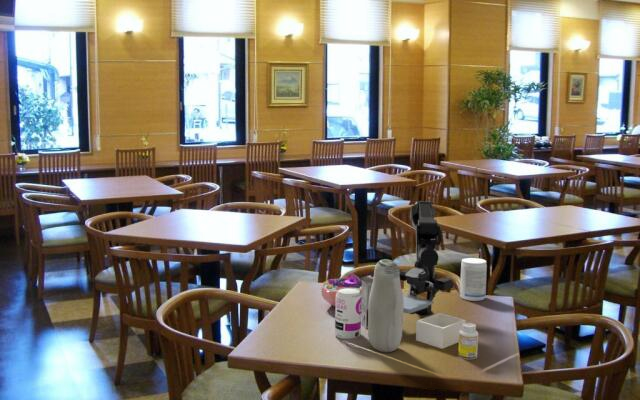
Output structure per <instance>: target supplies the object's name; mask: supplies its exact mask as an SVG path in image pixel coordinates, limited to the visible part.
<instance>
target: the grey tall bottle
mask: <svg viewBox="0 0 640 400" xmlns="http://www.w3.org/2000/svg"><path fill="white" fill-rule="evenodd" d="M399 273H400V267H399V265H398V264H397V263H396V261H394V260H391V259H386V258H384V259H380V260H379V261H377V262H376V264H375V266H374V272H373V277H374V278H373V284H372V287H371V291H370V295H369V305H368V329H367V335H368V341H369V342H370V345H371V347H372V348H373V349H374V350H376V351H378V352H381V353H392V352H393V351H396V350H397V349H398V348H399V346H400V344H401V341H402V337H403V325H404V324H403V323H404V312H403V308H404V300H403V296H404V295H403V294H404V293H403V290H402V286H401V285H402V284H401V280H400V276H399Z"/></svg>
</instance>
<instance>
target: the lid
mask: <svg viewBox="0 0 640 400" xmlns="http://www.w3.org/2000/svg"><path fill="white" fill-rule="evenodd" d="M403 300H404V308H403V314H407V315H409V314H412V313H413V312H416V311H418V310H421V309H424V308H427V307H428V305H431V304H432V305H433V304H434V301H433V300H432V301H430V300H427V292H424V293H421V294H418V295H417V297H415V296H412V295H409V293H408V294H405V295H403ZM432 305H431V306H432Z"/></svg>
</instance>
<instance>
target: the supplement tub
mask: <svg viewBox="0 0 640 400" xmlns="http://www.w3.org/2000/svg"><path fill="white" fill-rule="evenodd" d="M460 264H461V265H460V288H459V290H460V292H459V297H460V298H461V299H463V300H465V301H470V302H478V301H483V300H485V299H486V297H487V295H486V293H487V291H486V290H487V273H488V272H487V270H488V269H487V268H488V265H487V260H485V259H483V258H478V257H466V258H465V257H464V258H462V259H461V263H460Z"/></svg>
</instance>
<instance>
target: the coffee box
mask: <svg viewBox="0 0 640 400" xmlns="http://www.w3.org/2000/svg"><path fill="white" fill-rule="evenodd" d="M373 278H374V276H363V277H361V280H362V293H361V295H362V305H361V326H363V327H364V328H365V329H366V330H368V305H369V295H370V291H371V287H372V284H373Z"/></svg>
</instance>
